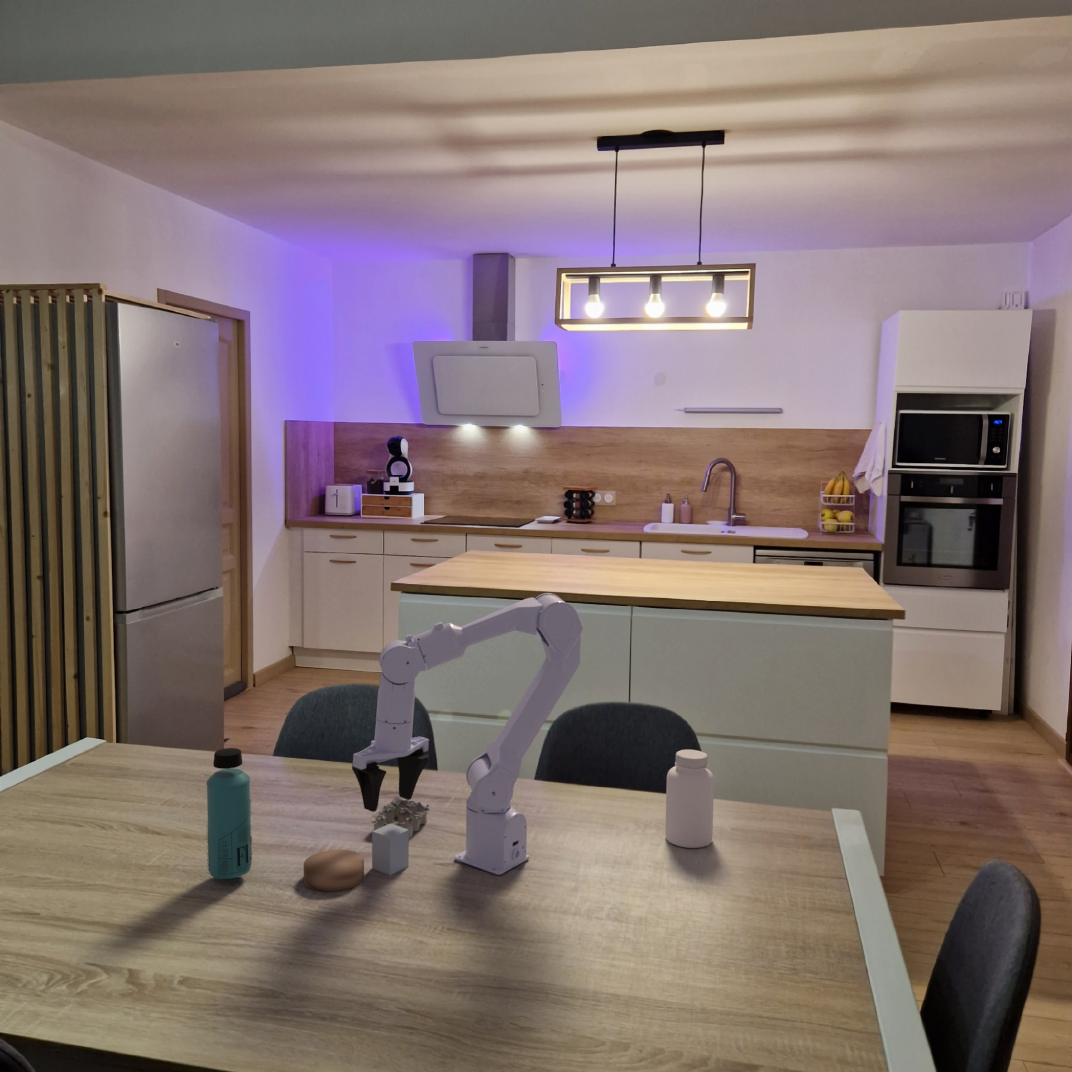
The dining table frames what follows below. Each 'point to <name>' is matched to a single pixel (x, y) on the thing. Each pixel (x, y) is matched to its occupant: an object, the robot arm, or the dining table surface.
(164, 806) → the dining table surface
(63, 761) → the dining table surface
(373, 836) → the block
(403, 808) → the egg carton
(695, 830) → the pill bottle
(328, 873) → the pedestal
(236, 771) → the beverage bottle
